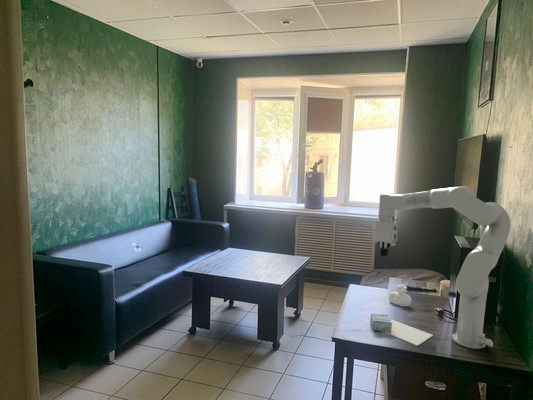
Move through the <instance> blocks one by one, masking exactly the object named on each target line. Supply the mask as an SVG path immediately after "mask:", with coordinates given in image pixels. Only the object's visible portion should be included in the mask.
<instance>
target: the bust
mask: <svg viewBox="0 0 533 400" xmlns="http://www.w3.org/2000/svg"><path fill="white" fill-rule="evenodd" d="M395 286H396V288H397V289H396V290H397V291H390V292H389V293H388V300H389V302H390V303H392V304H393V305H396V306H400V307H409V305H410V304H411V302H412V297H411V296H409V294H407V293H406V292H407V289H408V287H407V286H406V285H405V284H396V285H395Z"/></svg>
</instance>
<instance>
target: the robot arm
mask: <svg viewBox="0 0 533 400" xmlns="http://www.w3.org/2000/svg"><path fill="white" fill-rule="evenodd" d="M378 204H379V206H378V207H379V208H378V219H377V221H376V223H375V229H374V236H373V237H374V242H375V243H376V244H377V245H378V246H379V248H380V256H381V257H387V256H388V254H389V253H388V252H389V249H390V247H395V246H396V245H397V244H396V243H397V242H398V226H397V222H396V221H397V220H398V218H397V217H396V211H398V212H399V211H400V212H403V211H406V210H407V211H408V210H414V209H423V208H424V209H425V208H431V209H434V210H435V209H437V210H438V209H446V208H452V209H454V210H456V211H457V212H458V213H460V214H462V216H464V217H466V218H467V219H468V220H469V221H471V222H473V223H475V224H477V225H479V226H484V227H485V228H484V230H483V232H482V234H481V236H480V238H479V241H478V243H477V245H476V247H475V248H474V249H473V250H471V251H470V252H469V253H468V254H467V255H466V257H465V259H464V260H463V263H462V265H461V268H460V270H459V273H458V274H457V277H456V280H455V289H456V290H457V292H458V293H459V294H460V296H459V303H458V314H457V324H456V325H457V326H456V332H454V333H453V334H452V336H451V340H452V341H454V342H455V343H456V344H458V345H460V346H462V347H464V348H469V349H473V350H474V349H475V350H478V349H479V350H480V349H484V348H485V347H486V346H487V347H490V348H492V347H493V346H494V342H493V341H492V339H489V338H486V337H485V336H486V335H485V333H483V332H484V323H485V322H484V321H485V311H486V304H487V303H486V302H487V297H488V296H487V295H488V293H489V291H488V290H489V284H490V281H489V275H490V273H491V270H493V269H494V268H495V267H496V266H497V263H498V261H499V259H500V255H501V253H502V252H503V249H504V248H505V244H506V243H507V239H508V237H509V235H510V232H511V226H512V225H511V218H510V215H509V213H508V211H507V210H506V209H505V208H504V207H503V206H502V205H500V204H499V203H496V202H492V201H488V202H485V201H483V200H481V199H480V198H478V197H476V194H475V191H474V189H472V188H471V187H470V186H467V185H462V186H460V185H459V186H452V187H445V188H442V187H441V188H435V189H430V190H426V191H418V192H411V193H401V194H396V193H393V192H382V193H380V195H379V203H378Z"/></svg>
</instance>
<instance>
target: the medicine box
mask: <svg viewBox="0 0 533 400" xmlns="http://www.w3.org/2000/svg"><path fill="white" fill-rule="evenodd" d="M391 320H392V319H391V318H390V317H389V315H388V314H378V313H377V314H376V313H371V314H370V319H369V323H370V326H371V328H372V330H373V332H374V331H375V332H382V331H385V332H391V330H392V322H391Z"/></svg>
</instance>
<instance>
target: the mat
mask: <svg viewBox="0 0 533 400" xmlns="http://www.w3.org/2000/svg"><path fill="white" fill-rule="evenodd" d="M390 320H391V322H392V330H391V332H385V331H381V332H383V333H384V334H386V335H389V336H392V337H394V338H396V339H398V340H402V341H404V342H406V343H409V344H411V345H414V346H416V347H418V346H420V345H422V344H423V343H424V342H426V341H428V340H429V339H430V338H432V337H434V334H431V333H429V332H426V331H423V330H421V329H418V328H415V327H412V326H410V325H408V324H404V323H402V322H399V321H397V320H394V319H390Z"/></svg>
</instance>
